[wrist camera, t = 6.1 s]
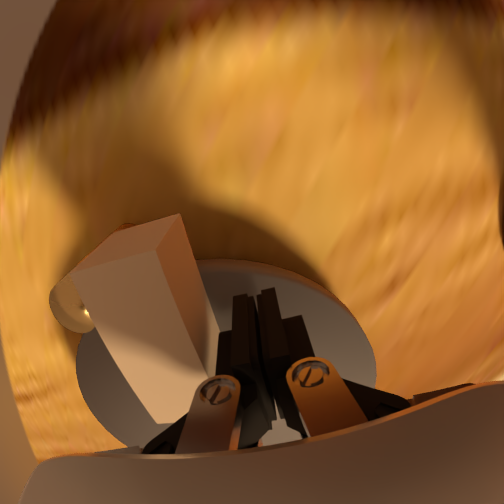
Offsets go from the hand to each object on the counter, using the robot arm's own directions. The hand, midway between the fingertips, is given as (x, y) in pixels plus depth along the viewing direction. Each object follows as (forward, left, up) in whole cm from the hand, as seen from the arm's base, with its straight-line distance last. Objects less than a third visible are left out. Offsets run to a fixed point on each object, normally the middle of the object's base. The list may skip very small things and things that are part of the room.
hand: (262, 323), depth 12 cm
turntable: (+3, +6, -3) cm, 8 cm away
